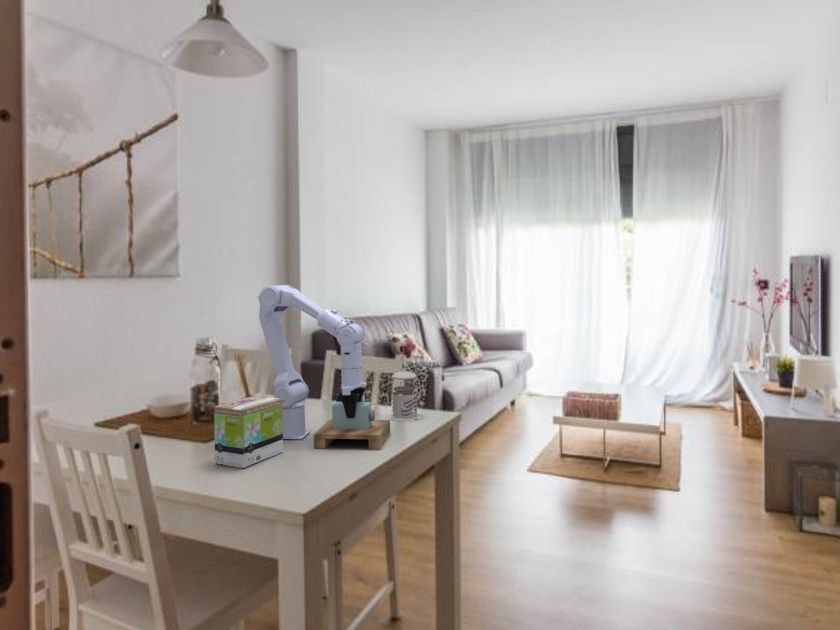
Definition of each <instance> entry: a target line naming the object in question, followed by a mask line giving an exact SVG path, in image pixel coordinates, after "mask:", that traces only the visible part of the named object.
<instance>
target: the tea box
mask: <svg viewBox="0 0 840 630" xmlns="http://www.w3.org/2000/svg"><path fill="white" fill-rule="evenodd" d="M213 414H214V415H213V420H214V421H213V423H214V426H213V427H214V431H213V432H214V434H213V435H214V464H216V463H217V464H216V465H221V464H223V465H222V466H226V465H227V467H232V466H233V468H238V469H239V468H241V469H245V468H247V467H249V466H252V465H254V464H256V463H259V462H262V461H265V460H266V459H269V458H271V457H274V456H277V455H280V454H282V453H283V452H284V439H283V417H282V399H279V398H274V397H267V396H258V395H257V396H256V395H253V396H249V397H246V398H241V399H238V400H234V401H230V402H226V403H223V404H222V403H221V404H218V405H215V406H214V407H213ZM281 452H282V453H281ZM279 453H280V454H279Z"/></svg>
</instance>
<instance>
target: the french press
mask: <svg viewBox="0 0 840 630" xmlns="http://www.w3.org/2000/svg"><path fill="white" fill-rule="evenodd" d="M406 345H407V342H406V341H405V340H402V341H401V342H400V346H402V351H403V352H402V353H403V355H402V356H403V362H405V346H406ZM417 377H418V375H417V374H416V373H414V372H412V371H409V370H405V369H403V370H402V371H397V372H395V373H394V374H393V375H391V378H392V379H393V380H394V379H395V380H403V385H402V386H395V387H394V388H393V392H392V393H391V394H392V415H391V416H390V418H391V419H390V421H393V420H394V421H393V422H399V421H407V422H412V421H411V420H415V419H418V418H419V417H420V416H419V415H418V408H417V407H418V403H417V401H418V400H419V398H420V396H421V393H422V386H421V382H420V380H419V379H418V378H417ZM406 380H410V383H411V384H416V387H415V386H407V385H406V386H405V384H406V382H405V381H406ZM412 380H413V381H412ZM417 382H418V383H417ZM418 384H419V387H420V388H419V387H418ZM418 388H419V389H420V391H419V395H418V390H419V389H418ZM415 390H416V391H415ZM417 396H418V397H417ZM403 403H404V404H403ZM418 420H419V419H418ZM415 421H416V420H415Z"/></svg>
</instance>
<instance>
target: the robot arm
mask: <svg viewBox="0 0 840 630" xmlns="http://www.w3.org/2000/svg"><path fill="white" fill-rule="evenodd" d="M257 299H258V302H259V313H258V319H259V322H260V325H261V330H262V333H263V336H264V339H265V342H266V346H267V349H268V352H269V356H270V359H271V362H272V366H273V369H274V373H275V375H276V377H275V379H274V381H273V389H274V390H273V392H274V393H273V398H279V399H282V417H283V440H303V439H304V438H305V437H306V436H308V435H309V434H310V433H311V430H306V409H305V407H306V406H305V404H306V400H307V398H308V397H309V394H310V393H309V392H310V390H309V386H308V385H307V383H306V382H305V381H304V379H303V377H302V374H301V373H299V372H297V370H296V369H295V366H294V362H293V359H292V356H291V353H290V349H289V345H288V342H287V339H286V336H285V332H284V330H283V327H282V322H281V318H282V316H283V314H284V312H285V311H286V310H288V309H289V308H290V307H295V308H296V309H298V310H299V311H302V312H303V313H305V314H306V315H308V316H310V317H312V318H313V319H315V320H316V322H317V326H318V327H320V328H321V329H323V330H324V331H326V332H327V333H329V335H332V336H333V337H334V338H336V340H337V342H338V344H339V345H340V360H341V362H340V364H341V365H340V367H341V368H340V369H341V370H340V371H341V383H340V386H341V390H342V391H340V392H339V397H340V399H341V401H342V403H343V406H344V409H345V413H346V417H347V418H355V414H356V405H357V402H361V401H362V397H363V394H364V392H365V391H366V386H367V385H368V384H367V382H363V360H362V359H363V355H362V351H363V350H362V342H363V340H364V338H365V330H364V328H363V327H362V326H361V325H360V324H359V323H357V322H353V323H351V320H350V319H348V318H347V319H346V318H345V317H343V316H342V315H340V314H338V310H337V309H334V308H333V309H331V308H327V309H323V308H322V307H321V306H319V305H318V304H316V303H315V302H314V301H312V300H311V299H309V298H308V297H307V296H306V295H304V294H303V293H301V291H300V290H299V289H297V288H295V287H293V286H291V285H290V284H283V285H280V284H279V285H270V284H269V285H266V286H264V287H263V288H262V290H261V291H260V293H259V294H258V296H257ZM365 393H366V392H365Z"/></svg>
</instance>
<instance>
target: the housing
mask: <svg viewBox="0 0 840 630" xmlns="http://www.w3.org/2000/svg"><path fill="white" fill-rule="evenodd" d="M331 414H332V415H331V416H332V418H331V420H332V421H333V429H369V428H370V426H371V425H372V421H374V420H376V411H375V410H374V409H372V402H371V401H365V402H357V405H356V414H355V418H347V417H346V413H345V409H344V406H343V403H342V402H336V401H335V403H333V404H332V405H331Z"/></svg>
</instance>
